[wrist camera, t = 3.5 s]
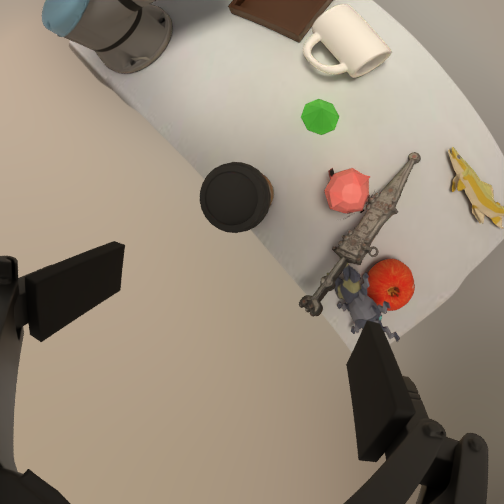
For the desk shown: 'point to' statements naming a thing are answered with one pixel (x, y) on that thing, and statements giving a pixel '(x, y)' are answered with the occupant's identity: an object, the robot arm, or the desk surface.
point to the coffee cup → (236, 197)
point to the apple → (390, 283)
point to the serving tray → (281, 14)
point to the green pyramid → (320, 116)
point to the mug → (346, 42)
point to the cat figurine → (347, 191)
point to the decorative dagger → (362, 235)
